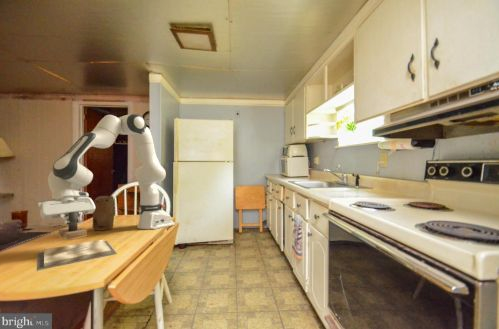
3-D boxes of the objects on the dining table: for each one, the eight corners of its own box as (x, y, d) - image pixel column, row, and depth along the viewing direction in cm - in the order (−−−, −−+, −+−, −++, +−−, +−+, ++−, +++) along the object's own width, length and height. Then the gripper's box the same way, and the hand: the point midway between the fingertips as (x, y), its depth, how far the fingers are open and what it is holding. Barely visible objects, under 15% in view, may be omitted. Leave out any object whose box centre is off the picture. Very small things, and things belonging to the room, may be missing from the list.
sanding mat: (106, 242, 121) (106, 240, 121) (117, 255, 104) (117, 253, 104) (38, 254, 104) (38, 252, 104) (36, 272, 87) (36, 270, 87)
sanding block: (58, 235, 106) (59, 212, 106) (77, 232, 112) (77, 209, 112) (67, 239, 101) (68, 214, 101) (86, 236, 106) (87, 212, 106)
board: (102, 242, 118) (102, 239, 118) (110, 253, 104) (110, 249, 104) (44, 252, 104) (44, 249, 104) (44, 267, 89) (44, 263, 89)
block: (114, 227, 150) (115, 195, 150) (111, 230, 142) (111, 196, 143) (95, 228, 147) (95, 195, 147) (90, 231, 140) (90, 197, 140)
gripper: (38, 196, 102) (45, 222, 96) (91, 192, 119) (100, 214, 113) (34, 205, 104) (41, 231, 99) (87, 200, 121) (96, 222, 115)
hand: (73, 222), depth 106 cm, fingers closed on sanding block, 3 cm apart
